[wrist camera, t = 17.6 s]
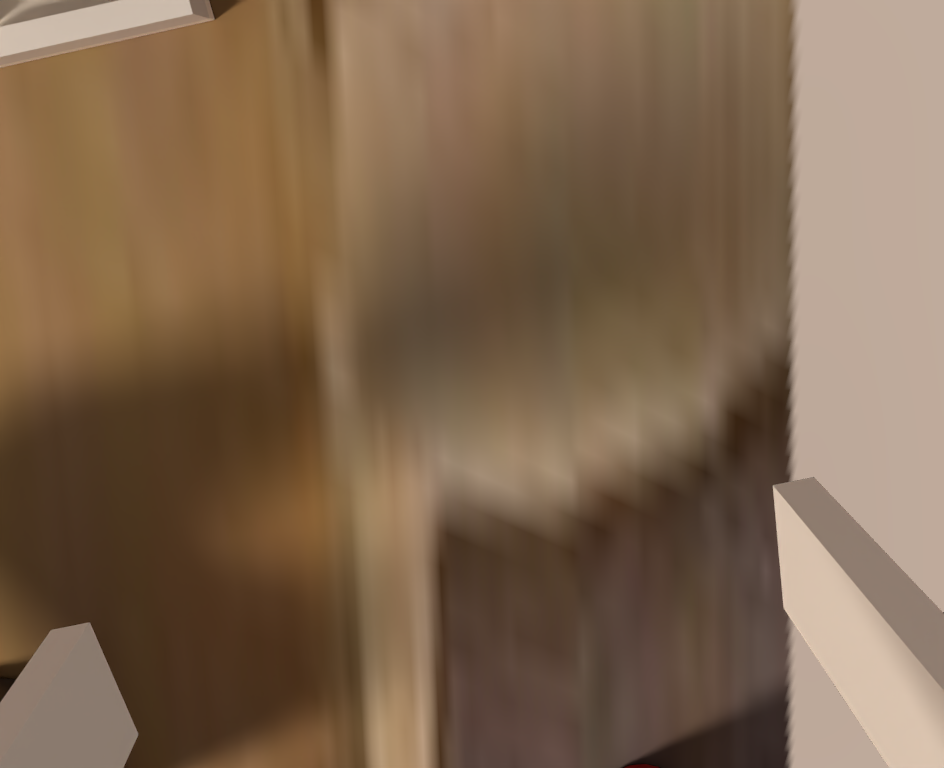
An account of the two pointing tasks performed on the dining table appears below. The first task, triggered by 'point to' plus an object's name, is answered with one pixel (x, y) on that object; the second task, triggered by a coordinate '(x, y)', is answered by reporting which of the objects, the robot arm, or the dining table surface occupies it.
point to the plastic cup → (641, 766)
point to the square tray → (87, 24)
